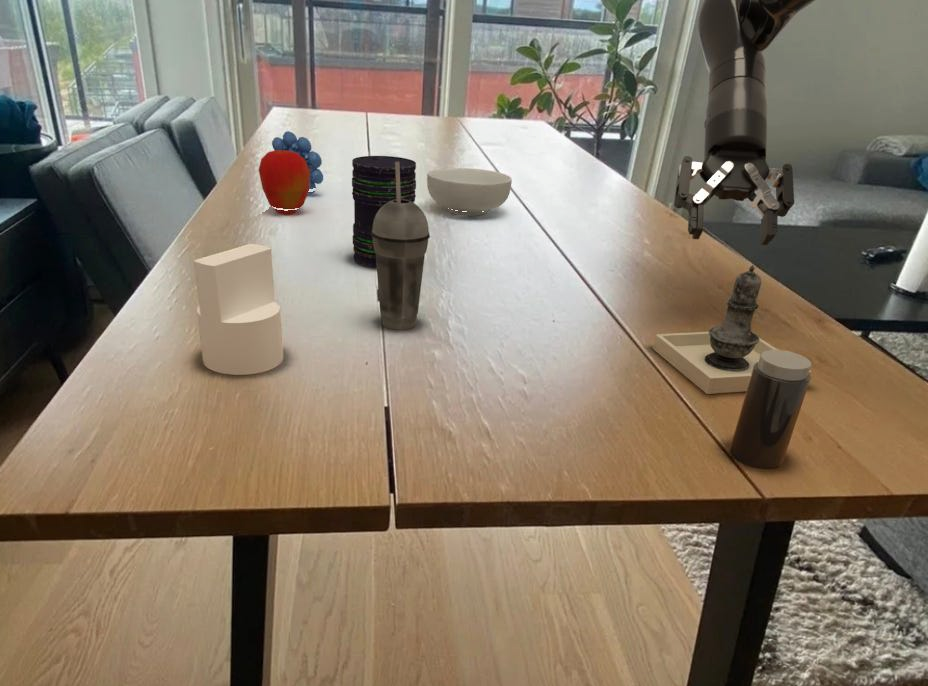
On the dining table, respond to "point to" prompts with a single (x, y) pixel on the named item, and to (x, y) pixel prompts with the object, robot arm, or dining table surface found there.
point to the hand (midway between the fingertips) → (732, 239)
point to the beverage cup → (399, 259)
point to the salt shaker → (736, 326)
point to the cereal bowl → (468, 189)
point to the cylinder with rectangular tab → (238, 311)
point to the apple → (284, 180)
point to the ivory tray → (690, 361)
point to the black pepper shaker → (770, 408)
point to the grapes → (303, 149)
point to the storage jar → (376, 197)
